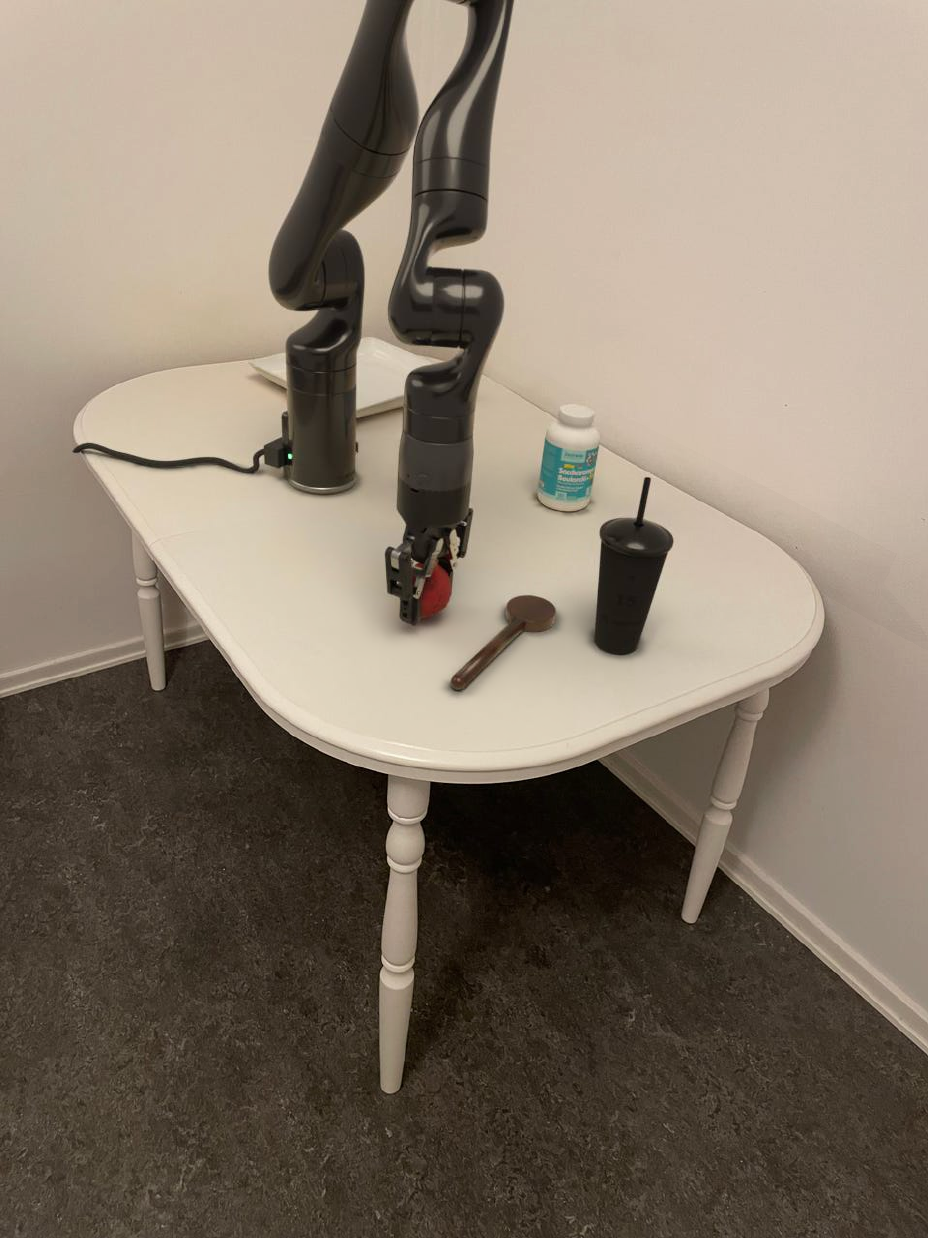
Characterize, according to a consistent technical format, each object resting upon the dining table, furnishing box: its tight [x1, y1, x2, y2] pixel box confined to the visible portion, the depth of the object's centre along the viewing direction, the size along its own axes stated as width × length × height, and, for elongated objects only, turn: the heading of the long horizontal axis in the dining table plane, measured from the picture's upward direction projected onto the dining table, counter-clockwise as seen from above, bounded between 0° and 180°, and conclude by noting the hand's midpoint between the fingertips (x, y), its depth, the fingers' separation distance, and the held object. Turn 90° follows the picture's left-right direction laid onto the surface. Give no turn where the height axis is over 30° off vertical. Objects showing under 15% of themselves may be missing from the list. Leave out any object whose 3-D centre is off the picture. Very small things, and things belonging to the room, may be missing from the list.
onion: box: [412, 559, 453, 618], centre depth 105 cm, size 6×6×8 cm
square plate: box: [248, 336, 436, 419], centre depth 164 cm, size 27×27×4 cm
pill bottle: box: [536, 403, 601, 512], centre depth 131 cm, size 8×7×14 cm
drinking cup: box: [593, 476, 675, 656], centre depth 101 cm, size 8×8×20 cm
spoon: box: [450, 594, 557, 691], centre depth 104 cm, size 6×20×2 cm, turn 149°
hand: (425, 608), depth 107 cm, fingers closed on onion, 6 cm apart
